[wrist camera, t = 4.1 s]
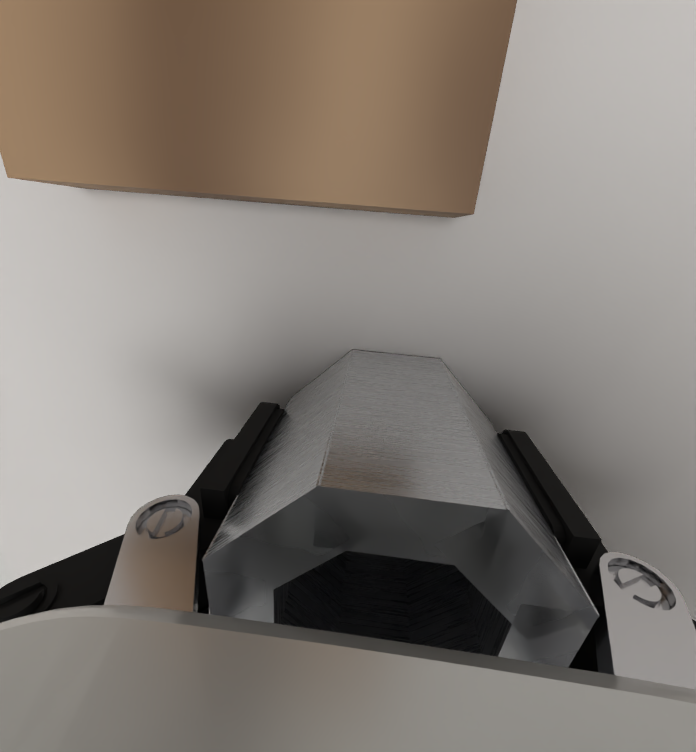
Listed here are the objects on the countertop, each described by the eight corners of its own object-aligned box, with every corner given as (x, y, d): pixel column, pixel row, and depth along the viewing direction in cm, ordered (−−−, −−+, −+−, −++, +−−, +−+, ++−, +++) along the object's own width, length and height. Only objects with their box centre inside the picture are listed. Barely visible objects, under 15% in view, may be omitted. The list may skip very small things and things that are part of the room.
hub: (504, 364, 10) (652, 526, 5) (459, 524, 13) (519, 752, 7) (291, 342, 10) (188, 468, 5) (290, 502, 13) (222, 702, 7)
